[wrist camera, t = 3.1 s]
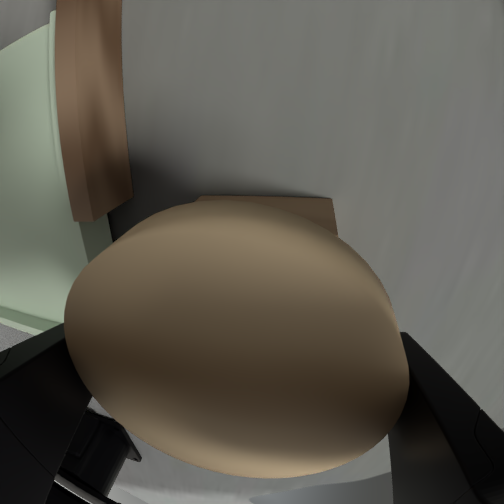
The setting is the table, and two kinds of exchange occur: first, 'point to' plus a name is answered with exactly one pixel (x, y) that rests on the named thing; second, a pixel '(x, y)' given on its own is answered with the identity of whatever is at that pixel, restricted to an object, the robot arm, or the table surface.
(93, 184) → the brown wooden frame
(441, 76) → the table surface
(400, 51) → the table surface
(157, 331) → the tan round disc
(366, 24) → the table surface
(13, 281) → the tray
